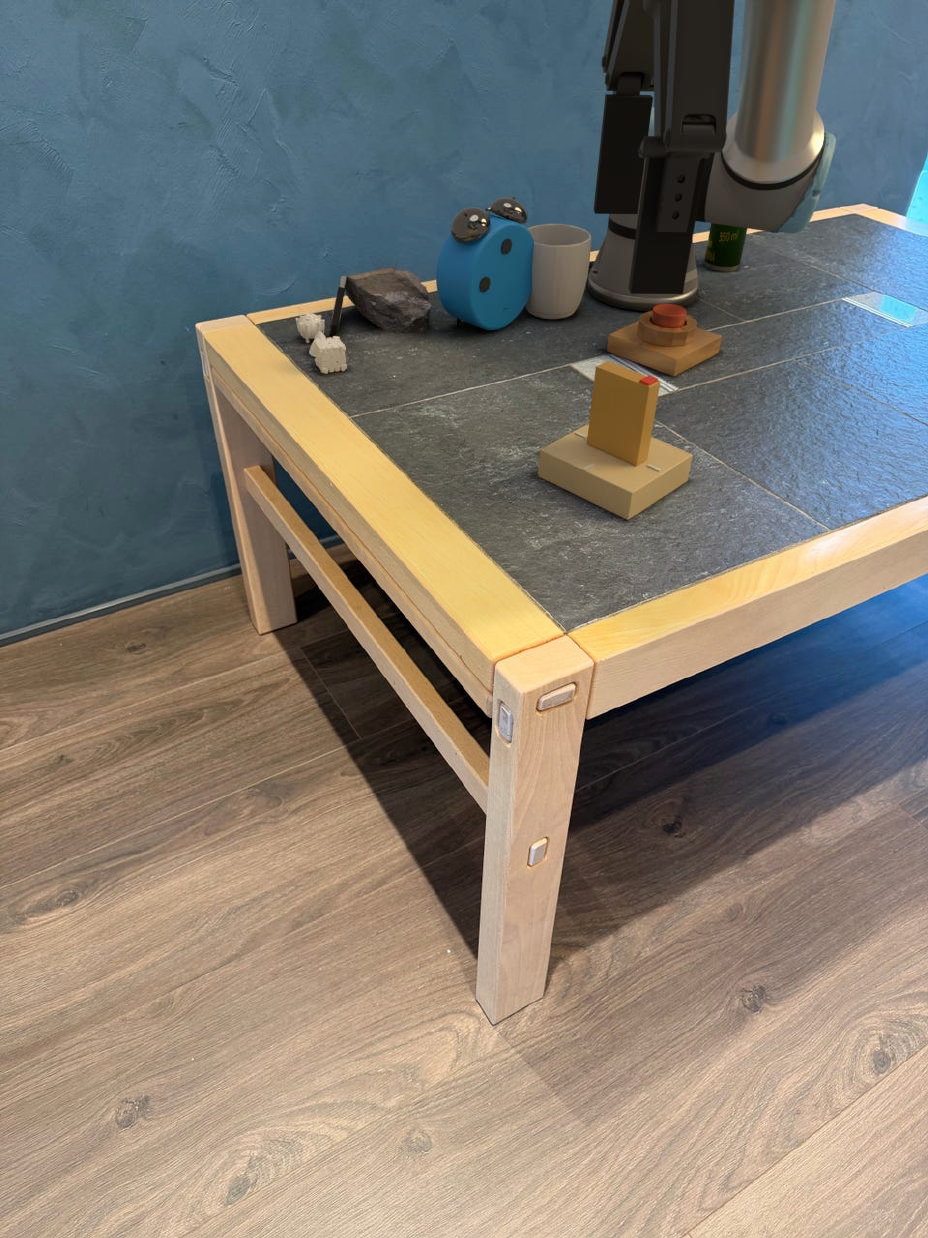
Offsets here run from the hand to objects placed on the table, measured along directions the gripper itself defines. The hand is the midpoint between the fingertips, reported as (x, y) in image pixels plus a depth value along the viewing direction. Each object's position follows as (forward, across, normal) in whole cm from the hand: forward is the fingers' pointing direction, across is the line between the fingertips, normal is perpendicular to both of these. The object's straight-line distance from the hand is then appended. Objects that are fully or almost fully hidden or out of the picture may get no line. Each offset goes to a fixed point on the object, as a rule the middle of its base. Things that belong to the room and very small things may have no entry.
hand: (633, 248), depth 52 cm
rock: (+31, +64, +14) cm, 73 cm away
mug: (+30, +68, -3) cm, 74 cm away
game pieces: (+30, +53, +26) cm, 66 cm away
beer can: (+30, +85, -32) cm, 96 cm away
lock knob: (+27, +23, -6) cm, 36 cm away
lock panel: (+30, +23, -6) cm, 38 cm away
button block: (+30, +54, -17) cm, 64 cm away
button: (+26, +54, -17) cm, 62 cm away
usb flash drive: (+28, +61, +24) cm, 71 cm away
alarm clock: (+30, +62, +5) cm, 69 cm away
